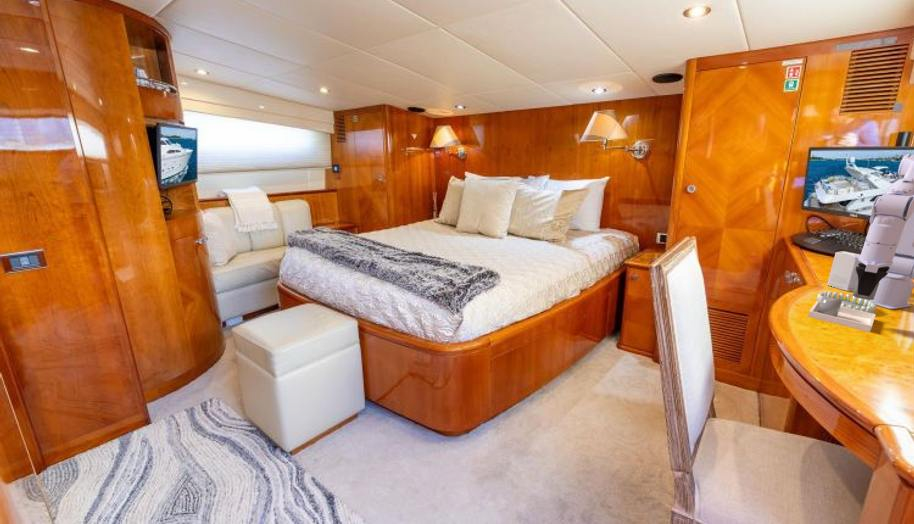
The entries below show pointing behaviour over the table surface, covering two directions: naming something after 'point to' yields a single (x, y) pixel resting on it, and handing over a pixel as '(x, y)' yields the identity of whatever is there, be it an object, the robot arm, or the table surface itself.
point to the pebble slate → (829, 306)
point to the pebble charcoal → (855, 294)
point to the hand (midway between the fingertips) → (864, 293)
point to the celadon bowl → (866, 307)
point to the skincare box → (844, 271)
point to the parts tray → (846, 317)
